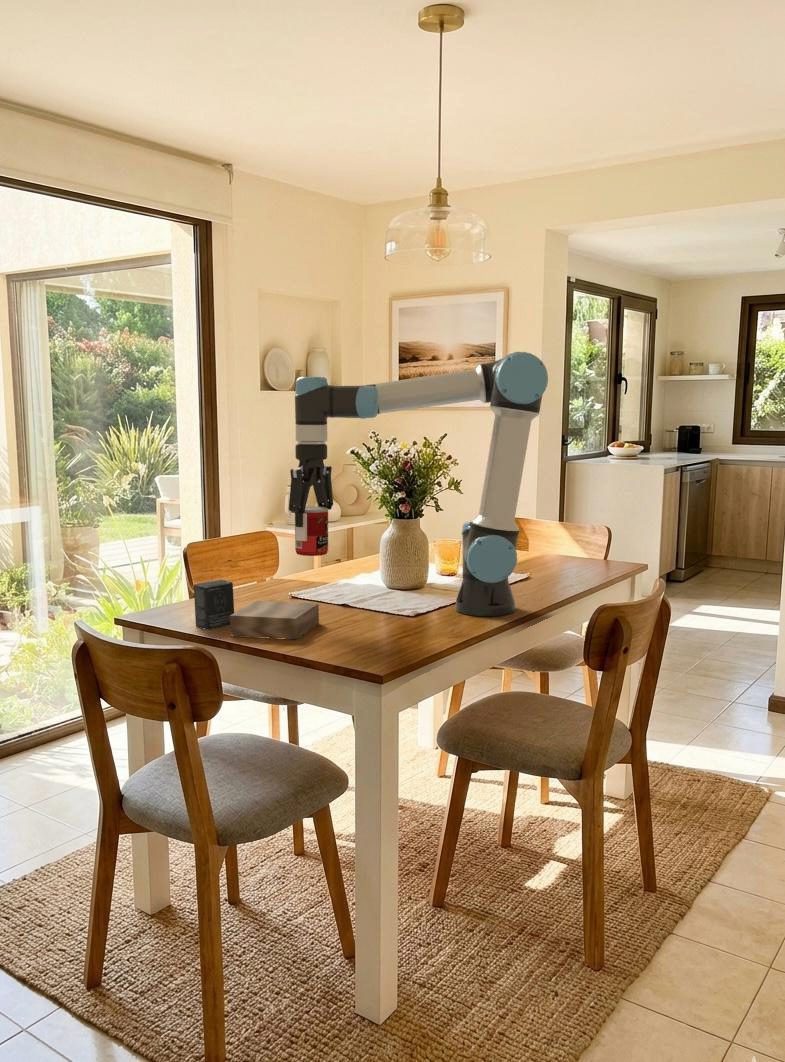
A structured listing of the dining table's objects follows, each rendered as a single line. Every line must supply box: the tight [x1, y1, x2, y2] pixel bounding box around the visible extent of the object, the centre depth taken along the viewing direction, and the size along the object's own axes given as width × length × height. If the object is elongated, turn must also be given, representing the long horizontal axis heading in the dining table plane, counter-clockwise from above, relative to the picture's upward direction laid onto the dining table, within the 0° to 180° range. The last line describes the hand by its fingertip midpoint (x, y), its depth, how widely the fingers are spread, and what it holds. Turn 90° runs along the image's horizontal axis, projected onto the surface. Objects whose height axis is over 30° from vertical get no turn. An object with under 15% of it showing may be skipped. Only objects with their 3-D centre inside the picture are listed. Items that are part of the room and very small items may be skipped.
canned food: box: [294, 505, 329, 557], centre depth 219 cm, size 8×8×11 cm
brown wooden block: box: [229, 600, 320, 640], centre depth 216 cm, size 16×16×5 cm
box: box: [193, 579, 235, 630], centre depth 221 cm, size 8×6×11 cm
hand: (311, 538), depth 219 cm, fingers closed on canned food, 8 cm apart
